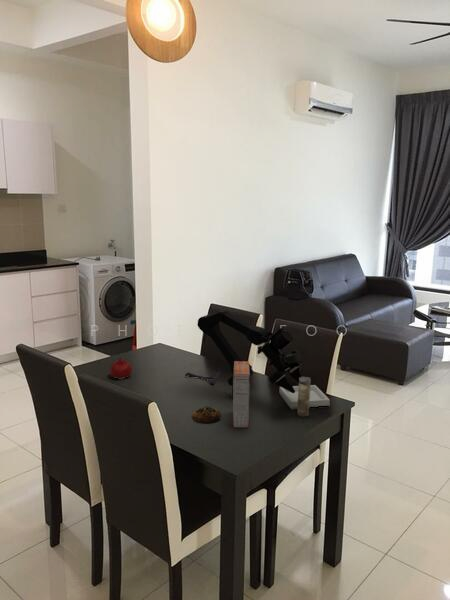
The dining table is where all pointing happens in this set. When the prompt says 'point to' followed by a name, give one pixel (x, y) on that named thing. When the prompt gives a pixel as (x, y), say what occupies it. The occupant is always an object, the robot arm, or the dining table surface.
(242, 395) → the cracker box
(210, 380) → the dark grey t-shape
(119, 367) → the pomegranate
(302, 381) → the handle post
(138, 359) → the dining table surface
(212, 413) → the bread roll
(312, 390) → the tray
